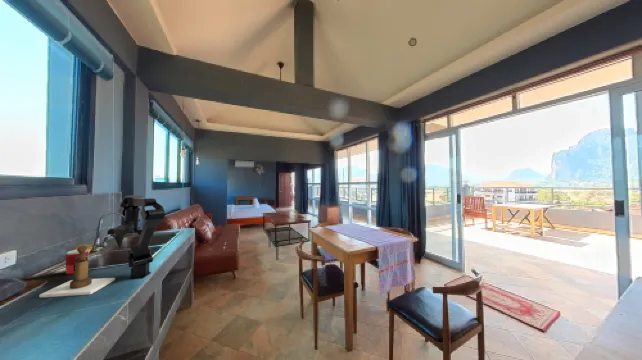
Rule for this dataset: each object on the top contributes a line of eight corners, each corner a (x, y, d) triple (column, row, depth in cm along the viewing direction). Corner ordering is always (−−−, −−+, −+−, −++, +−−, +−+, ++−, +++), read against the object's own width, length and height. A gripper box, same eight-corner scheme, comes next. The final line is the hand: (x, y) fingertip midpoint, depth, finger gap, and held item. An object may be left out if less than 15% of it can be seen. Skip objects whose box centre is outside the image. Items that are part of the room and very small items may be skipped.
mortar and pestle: (95, 283, 96) (96, 244, 96) (74, 290, 90) (76, 248, 90) (86, 280, 98) (87, 243, 98) (66, 287, 92) (67, 247, 92)
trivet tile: (114, 280, 102) (114, 277, 102) (90, 294, 89) (90, 291, 89) (71, 282, 98) (71, 280, 98) (39, 297, 86) (39, 294, 86)
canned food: (75, 275, 106) (76, 253, 106) (60, 274, 106) (61, 253, 107) (92, 268, 114) (92, 248, 114) (78, 268, 114) (78, 248, 114)
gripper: (98, 220, 104) (96, 251, 103) (140, 221, 106) (137, 251, 106) (117, 216, 115) (114, 245, 114) (154, 218, 117) (152, 245, 117)
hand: (129, 247), depth 112 cm, fingers open, 9 cm apart
